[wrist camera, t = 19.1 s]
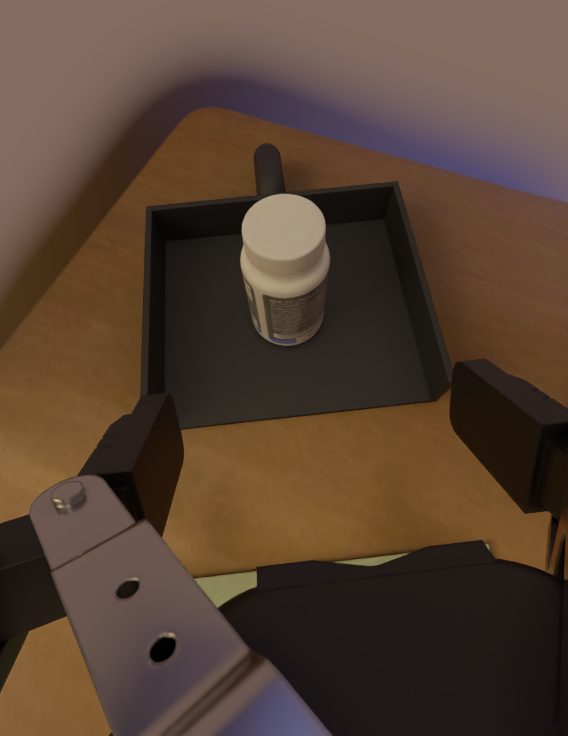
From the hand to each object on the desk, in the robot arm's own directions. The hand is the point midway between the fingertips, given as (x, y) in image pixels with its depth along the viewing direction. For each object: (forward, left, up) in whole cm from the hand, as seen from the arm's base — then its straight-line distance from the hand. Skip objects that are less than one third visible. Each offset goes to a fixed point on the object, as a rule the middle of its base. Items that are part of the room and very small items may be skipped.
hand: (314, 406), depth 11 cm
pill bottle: (+9, +4, -12) cm, 16 cm away
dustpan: (+12, +6, -12) cm, 18 cm away
